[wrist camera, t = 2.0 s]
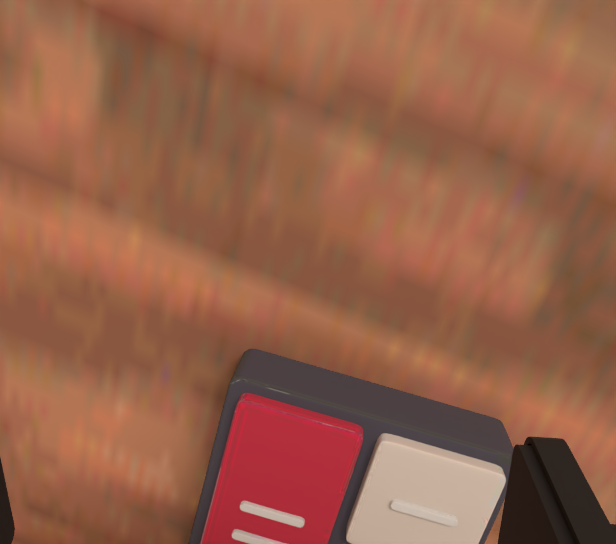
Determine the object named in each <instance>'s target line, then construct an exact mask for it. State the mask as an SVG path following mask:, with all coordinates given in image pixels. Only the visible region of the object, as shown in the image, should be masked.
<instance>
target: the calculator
mask: <svg viewBox="0 0 616 544" xmlns="http://www.w3.org/2000/svg"><path fill="white" fill-rule="evenodd" d="M512 454H513V447H512V444H511V442H510V439H509V437H508V435H507V432H506V430H505V428H504V425H503V423H502V422H501V421H500V420H498V419H495V418H492V417H489V416H486V415H482V414H479V413H475V412H472V411H468V410H465V409H461V408H458V407H454V406H451V405H447V404H444V403H441V402H437V401H434V400H430V399H427V398H423V397H420V396H416V395H413V394H409V393H406V392H403V391H399V390H396V389H392V388H389V387H385V386H382V385H378V384H375V383H371V382H368V381H365V380H361V379H358V378H354V377H351V376H347V375H344V374H340V373H337V372H333V371H330V370H326V369H323V368H320V367H316V366H313V365H309V364H306V363H302V362H299V361H295V360H292V359H288V358H285V357H281V356H278V355H275V354H271V353H268V352H264V351H260V350H257V349H249V350H247V351H246V352H244V354H243V356H242V358H241V360H240V362H239V364H238V366H237V368H236V371H235V373H234V375H233V377H232V379H231V381H230V384H229V387H228V390H227V394H226V398H225V402H224V406H223V410H222V414H221V418H220V422H219V426H218V430H217V434H216V438H215V442H214V446H213V450H212V453H211V457H210V461H209V465H208V469H207V473H206V477H205V481H204V485H203V489H202V493H201V497H200V501H199V505H198V509H197V513H196V517H195V520H194V524H193V528H192V532H191V536H190V540H189V544H484V543H485V541H486V539H487V537H488V534H489V532H490V530H491V528H492V526H493V523H494V521H495V519H496V517H497V515H498V512H499V510H500V508H501V506H502V503H503V501H504V499H505V496H506V490H507V484H508V478H509V472H510V466H511V460H512Z"/></svg>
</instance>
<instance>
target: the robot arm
mask: <svg viewBox="0 0 616 544" xmlns="http://www.w3.org/2000/svg"><path fill="white" fill-rule="evenodd" d="M14 530H15V528H14V521H13V517H12V512H11V507H10V502H9V497H8V492H7V488H6V483H5V478H4V473H3V468H2V464H1V459H0V544H11V543H12V540H13V536H14ZM498 544H616V525H614V524H610V523H609V521H608V519H607V517H606V516H605V514H604V512H603V510H602V508H601V506H600V504H599V503H598V501H597V499H596V497H595V495H594V493H593V491H592V490H591V488H590V486H589V484H588V482H587V480H586V478H585V477H584V475H583V473H582V471H581V469H580V467H579V465H578V463H577V462H576V460H575V458H574V456H573V454H572V452H571V450H570V449H569V447H568V445H567V443H566V442H565V441H564V440H563V439H558V438H542V437H528V438H527V439H526V440H525V443H524V445H515V447H514V449H513V454H512V460H511V466H510V472H509V478H508V484H507V490H506V496H505V503H504V509H503V515H502V521H501V527H500V533H499V539H498Z"/></svg>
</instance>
